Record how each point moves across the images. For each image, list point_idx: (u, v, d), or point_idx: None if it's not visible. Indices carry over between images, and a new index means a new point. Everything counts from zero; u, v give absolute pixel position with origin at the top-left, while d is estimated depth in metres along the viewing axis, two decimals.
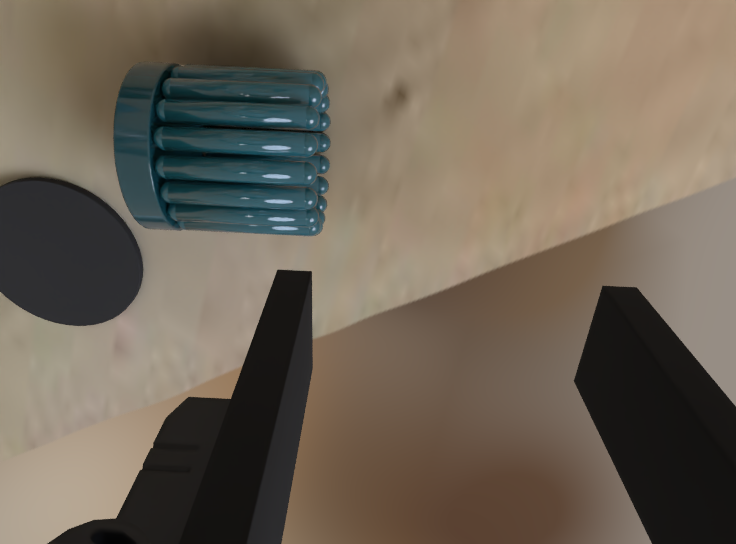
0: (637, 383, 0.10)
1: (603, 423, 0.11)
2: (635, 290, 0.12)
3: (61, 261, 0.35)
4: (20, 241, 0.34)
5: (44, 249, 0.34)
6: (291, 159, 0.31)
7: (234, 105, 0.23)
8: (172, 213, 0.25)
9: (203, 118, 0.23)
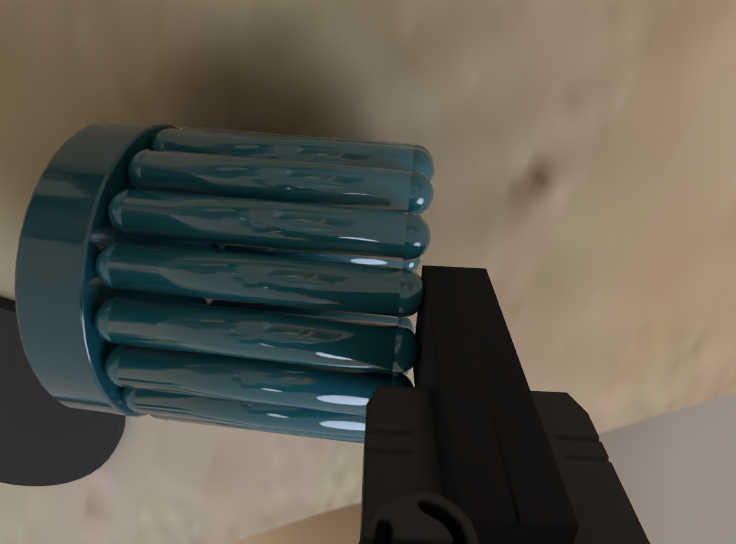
0: None
1: None
2: (484, 271, 0.12)
3: (2, 406, 0.23)
4: None
5: None
6: None
7: (260, 207, 0.12)
8: (129, 401, 0.13)
9: (196, 231, 0.12)
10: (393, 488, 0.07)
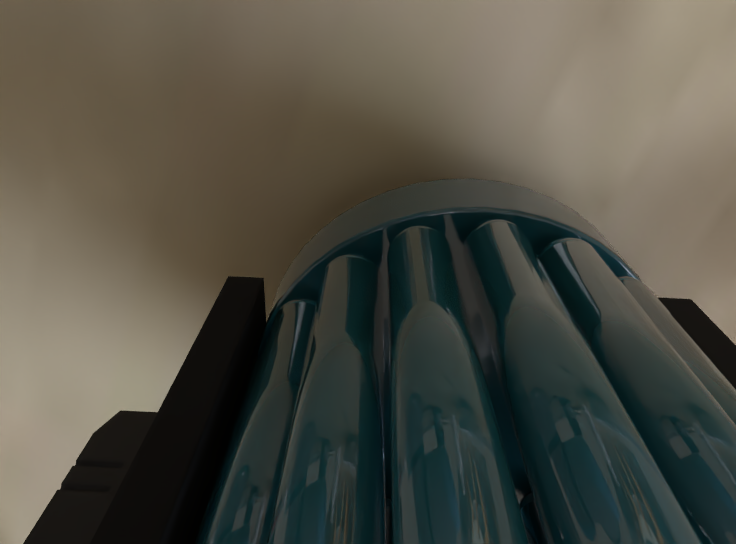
0: None
1: None
2: (689, 301, 0.11)
3: None
4: None
5: None
6: None
7: (319, 382, 0.06)
8: None
9: None
10: (64, 534, 0.07)
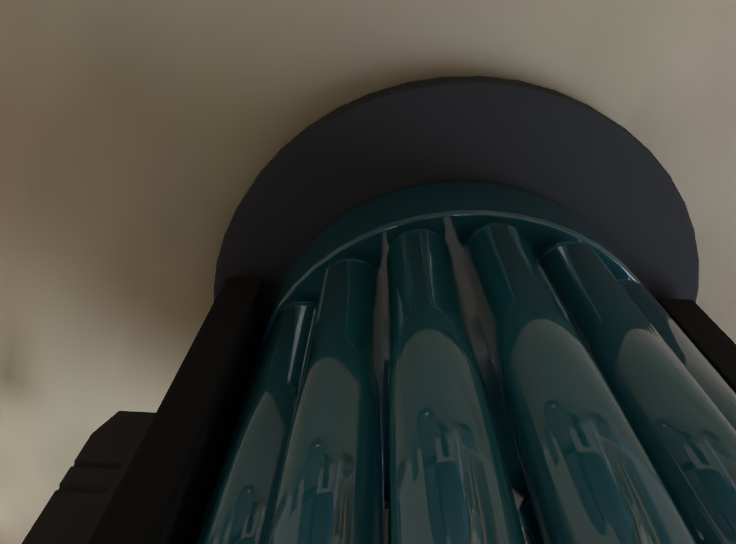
0: None
1: None
2: (690, 302, 0.11)
3: None
4: None
5: None
6: None
7: (318, 388, 0.06)
8: None
9: None
10: (62, 534, 0.07)
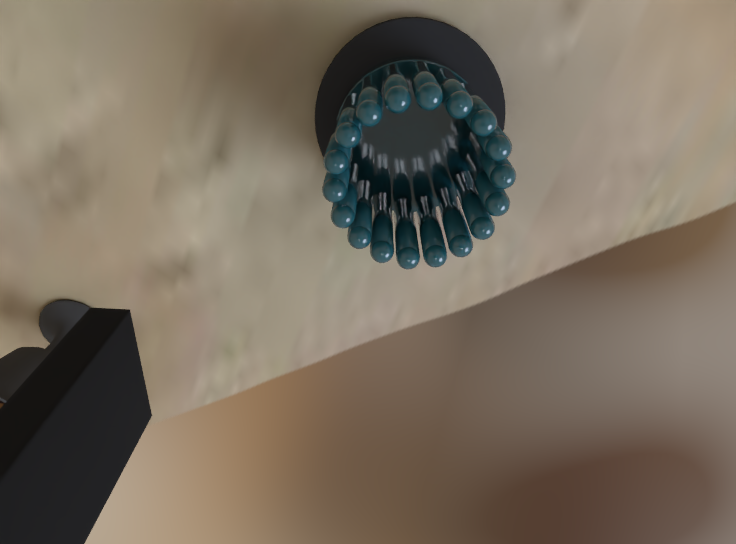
0: None
1: None
2: None
3: None
4: None
5: None
6: (470, 205, 0.25)
7: (366, 86, 0.24)
8: None
9: None
10: None
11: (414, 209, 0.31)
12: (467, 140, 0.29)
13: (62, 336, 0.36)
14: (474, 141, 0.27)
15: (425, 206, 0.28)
